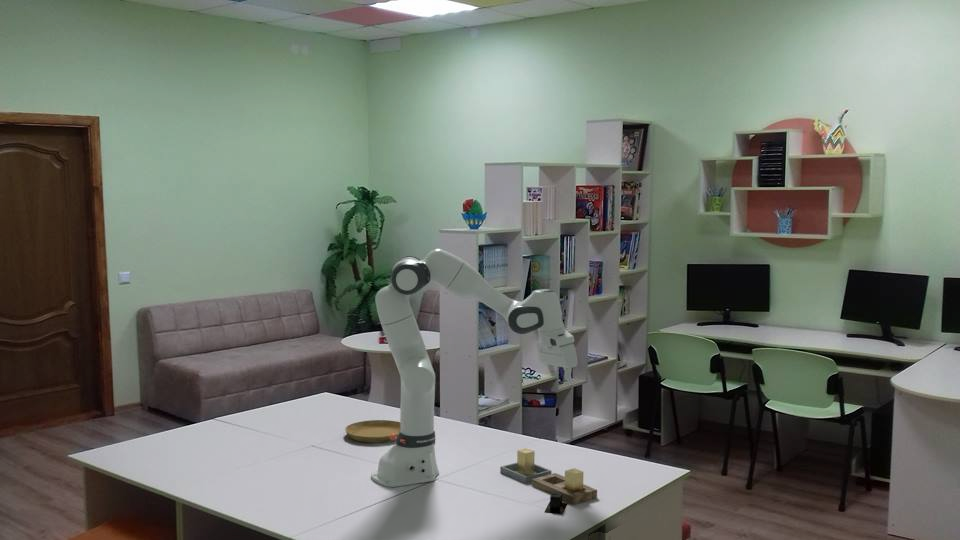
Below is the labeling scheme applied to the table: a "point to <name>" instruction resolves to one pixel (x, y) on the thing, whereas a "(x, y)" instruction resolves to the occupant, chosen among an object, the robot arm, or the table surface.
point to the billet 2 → (574, 480)
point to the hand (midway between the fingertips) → (561, 378)
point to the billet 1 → (525, 461)
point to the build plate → (556, 504)
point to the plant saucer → (373, 430)
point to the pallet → (563, 489)
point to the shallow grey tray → (512, 472)
